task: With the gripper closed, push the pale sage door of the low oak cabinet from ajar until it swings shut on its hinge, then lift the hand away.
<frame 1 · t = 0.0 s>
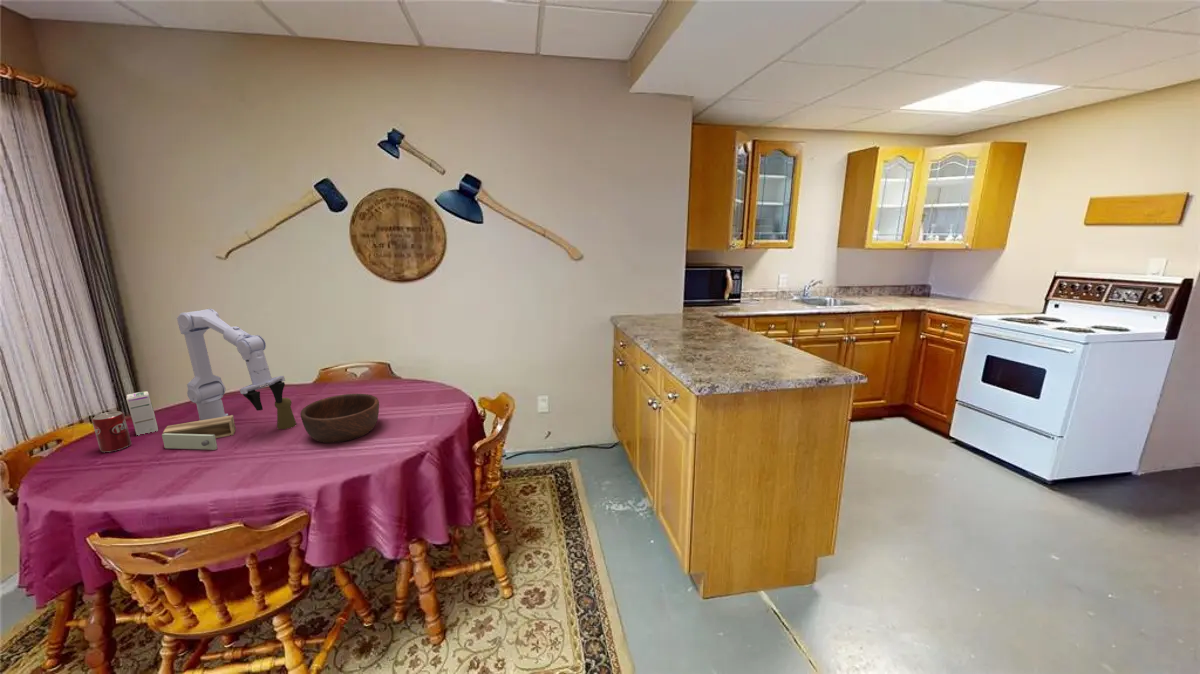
hand: (269, 406, 161), 11 cm above the table, tool pointing down, fingers open, 7 cm apart
cabinet: (202, 437, 160), on the table
soda can: (116, 448, 152), on the table
wooden bowl: (344, 431, 166), on the table
syrup box: (147, 431, 164), on the table
cabinet door: (188, 442, 150), point 3 cm above the table, hinge at 35.0°
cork: (287, 426, 169), on the table, touching gripper
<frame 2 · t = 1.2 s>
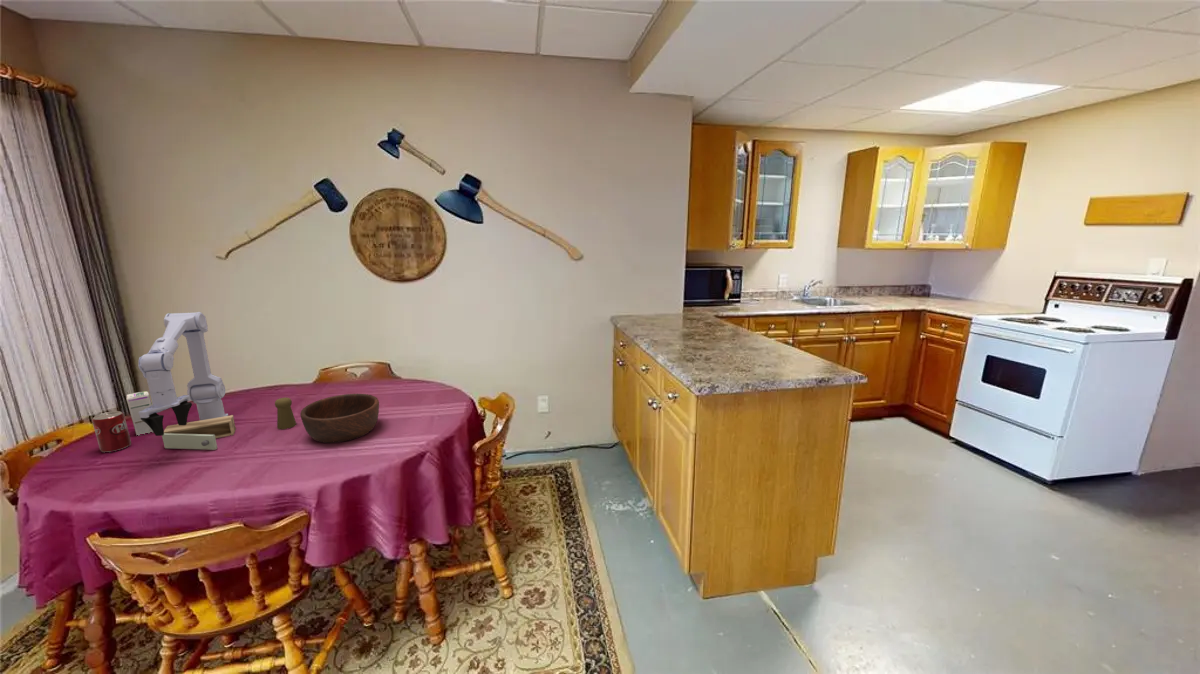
hand: (171, 429, 144), 9 cm above the table, tool pointing down, fingers open, 7 cm apart
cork: (287, 426, 169), on the table
everything else where it was.
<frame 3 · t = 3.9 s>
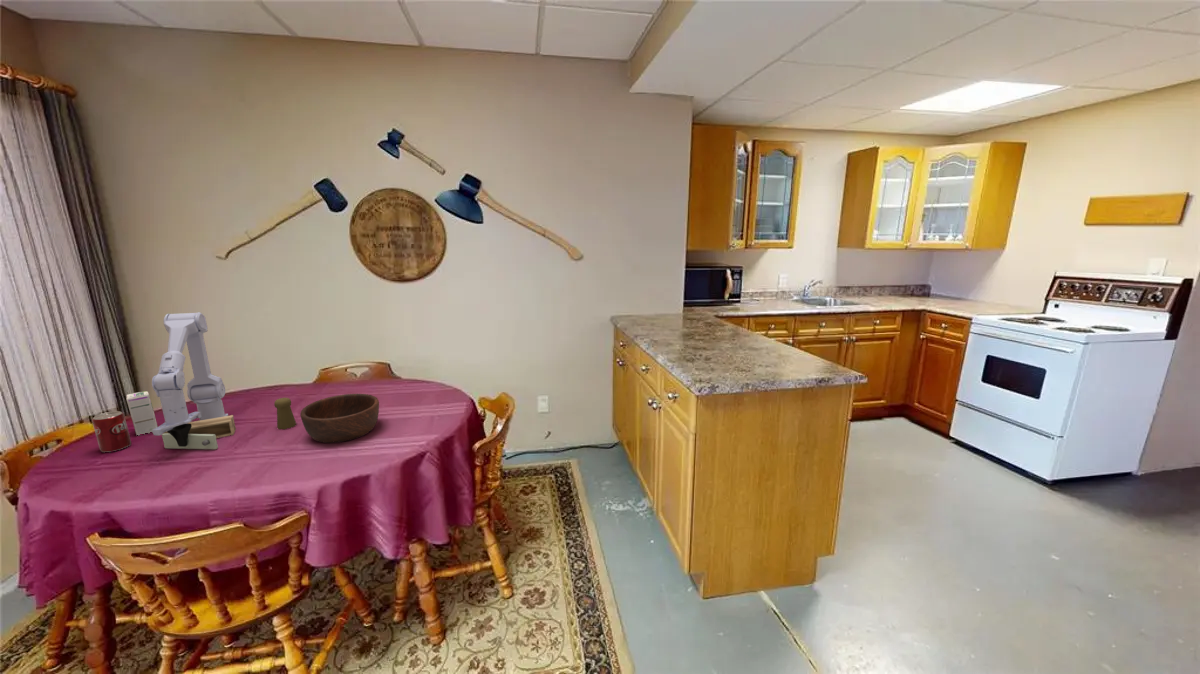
hand: (183, 445, 149), 2 cm above the table, tool pointing down, fingers closed, pressing on cabinet door
cabinet door: (188, 442, 150), point 3 cm above the table, hinge at 34.2°, touching gripper
everything else where it was.
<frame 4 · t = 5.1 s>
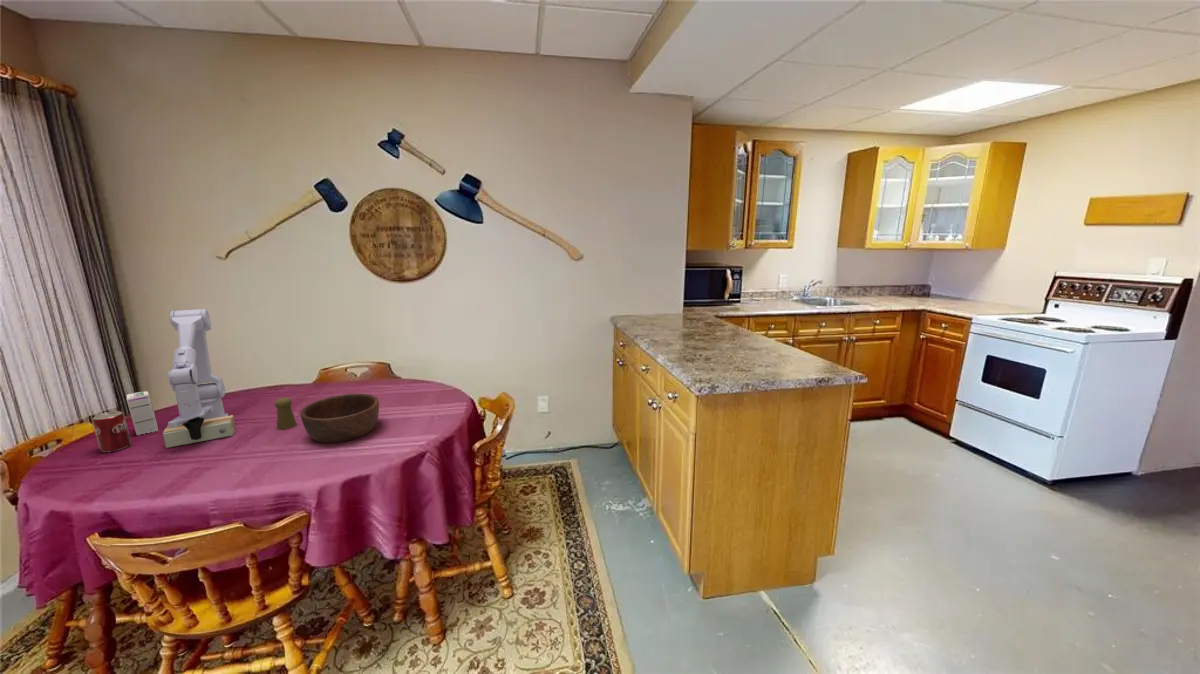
hand: (196, 438, 154), 2 cm above the table, tool pointing down, fingers closed, pressing on cabinet door
cabinet door: (198, 435, 155), point 3 cm above the table, hinge at -0.8°, touching gripper
everything else where it was.
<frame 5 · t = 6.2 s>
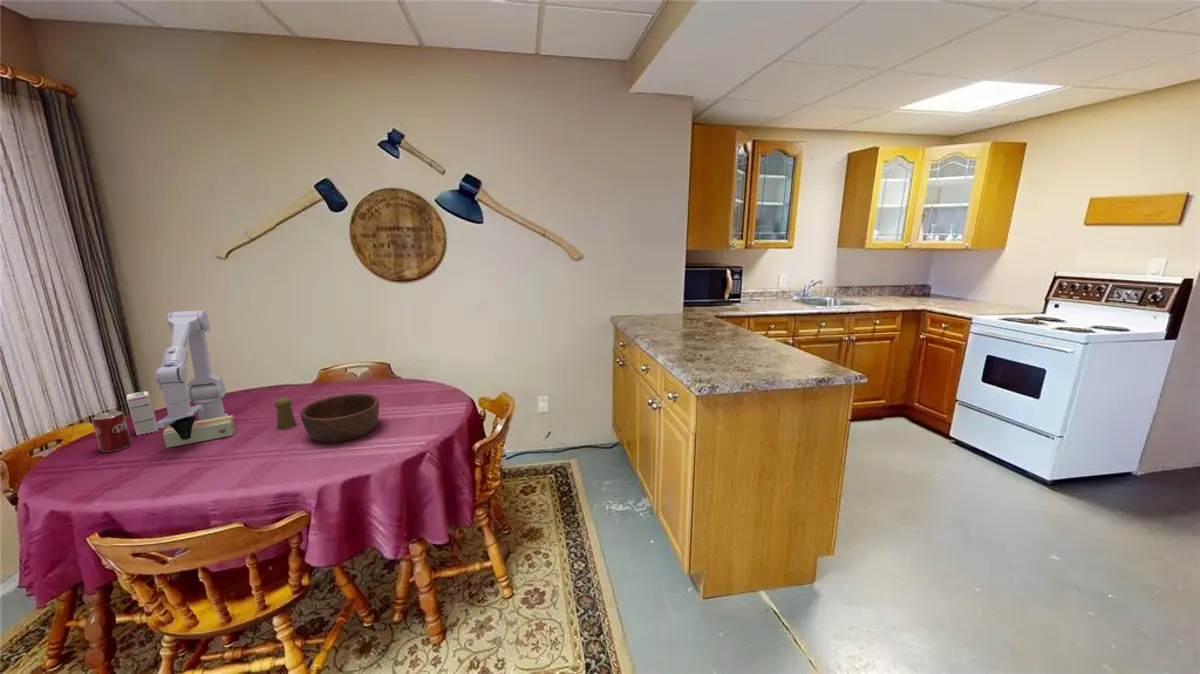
hand: (186, 438, 150), 4 cm above the table, tool pointing down, fingers closed
cabinet door: (198, 434, 155), point 3 cm above the table, hinge at -1.0°, touching cabinet
everything else where it was.
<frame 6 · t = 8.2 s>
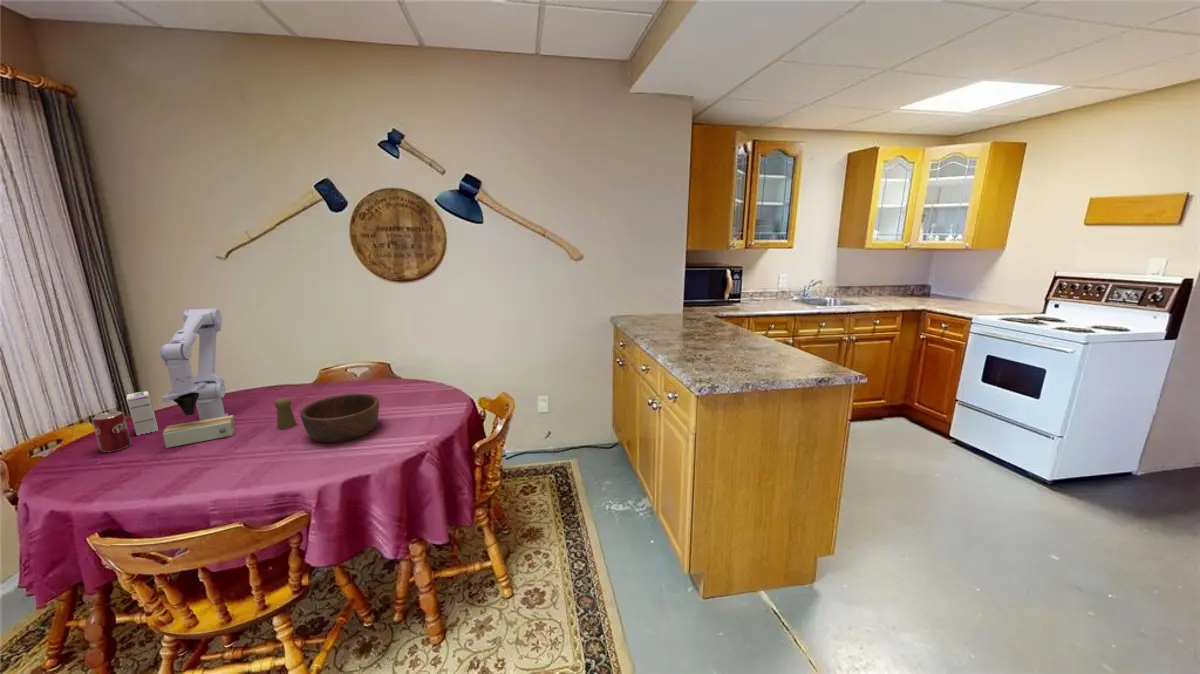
hand: (189, 414, 156), 9 cm above the table, tool pointing down, fingers closed
nothing on the table moved.
at the end: cabinet door at -1° (first picture: +35°); the gripper is holding nothing; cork moved 0.2 cm from its start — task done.
